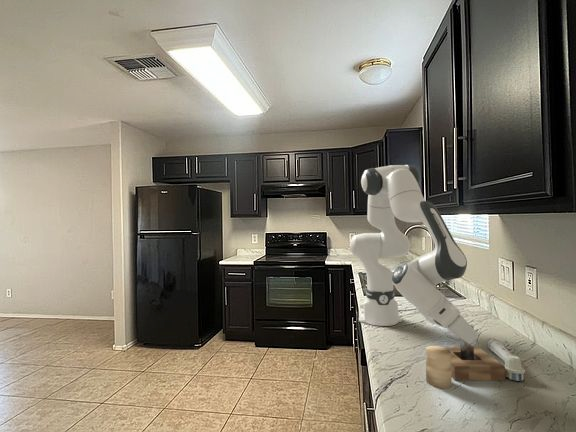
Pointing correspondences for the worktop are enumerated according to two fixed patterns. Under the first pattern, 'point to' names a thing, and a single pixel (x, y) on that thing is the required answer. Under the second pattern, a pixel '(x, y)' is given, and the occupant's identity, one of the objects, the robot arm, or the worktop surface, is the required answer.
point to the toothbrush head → (507, 360)
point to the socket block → (475, 366)
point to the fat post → (438, 366)
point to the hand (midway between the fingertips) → (469, 340)
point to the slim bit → (466, 350)
